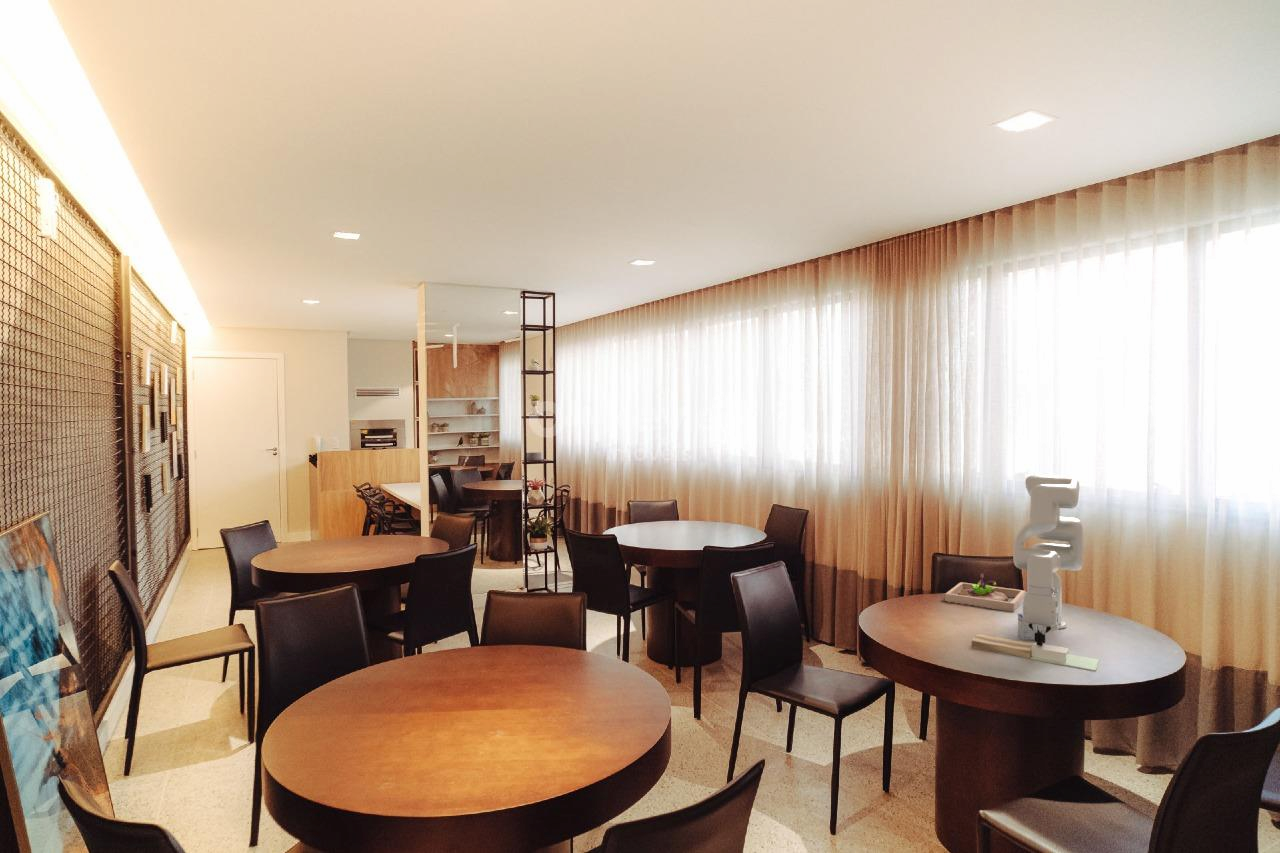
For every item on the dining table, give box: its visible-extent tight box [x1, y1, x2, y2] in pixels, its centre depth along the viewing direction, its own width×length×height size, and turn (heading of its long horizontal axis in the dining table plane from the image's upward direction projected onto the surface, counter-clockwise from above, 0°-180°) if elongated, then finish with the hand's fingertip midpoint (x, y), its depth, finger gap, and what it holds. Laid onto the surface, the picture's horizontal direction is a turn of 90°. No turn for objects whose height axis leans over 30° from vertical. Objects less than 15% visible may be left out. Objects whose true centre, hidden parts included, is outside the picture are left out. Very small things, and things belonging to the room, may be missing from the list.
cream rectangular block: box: [1031, 642, 1070, 662], centre depth 230 cm, size 6×10×3 cm, turn 52°
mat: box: [1030, 654, 1100, 672], centre depth 228 cm, size 12×18×1 cm, turn 52°
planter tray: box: [944, 581, 1026, 613], centre depth 304 cm, size 27×27×4 cm
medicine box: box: [1017, 612, 1047, 641], centre depth 251 cm, size 8×4×9 cm, turn 84°
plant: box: [958, 573, 1009, 602], centre depth 307 cm, size 20×20×11 cm
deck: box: [971, 633, 1035, 659], centre depth 239 cm, size 10×18×2 cm, turn 52°
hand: (1039, 644), depth 232 cm, fingers closed
